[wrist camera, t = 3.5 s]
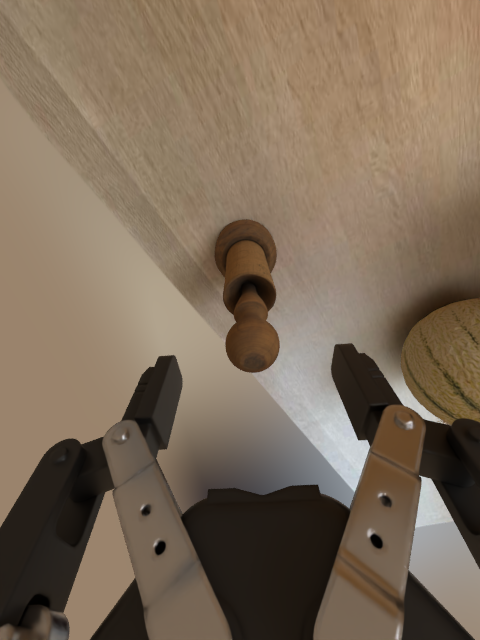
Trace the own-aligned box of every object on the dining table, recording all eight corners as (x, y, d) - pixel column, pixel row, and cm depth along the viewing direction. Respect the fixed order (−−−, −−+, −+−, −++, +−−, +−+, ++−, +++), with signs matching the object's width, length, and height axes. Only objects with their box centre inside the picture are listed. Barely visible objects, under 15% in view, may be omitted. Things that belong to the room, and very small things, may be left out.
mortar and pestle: (286, 252, 28) (343, 365, 13) (244, 287, 30) (250, 418, 15) (246, 205, 25) (259, 278, 10) (203, 248, 28) (162, 359, 13)
